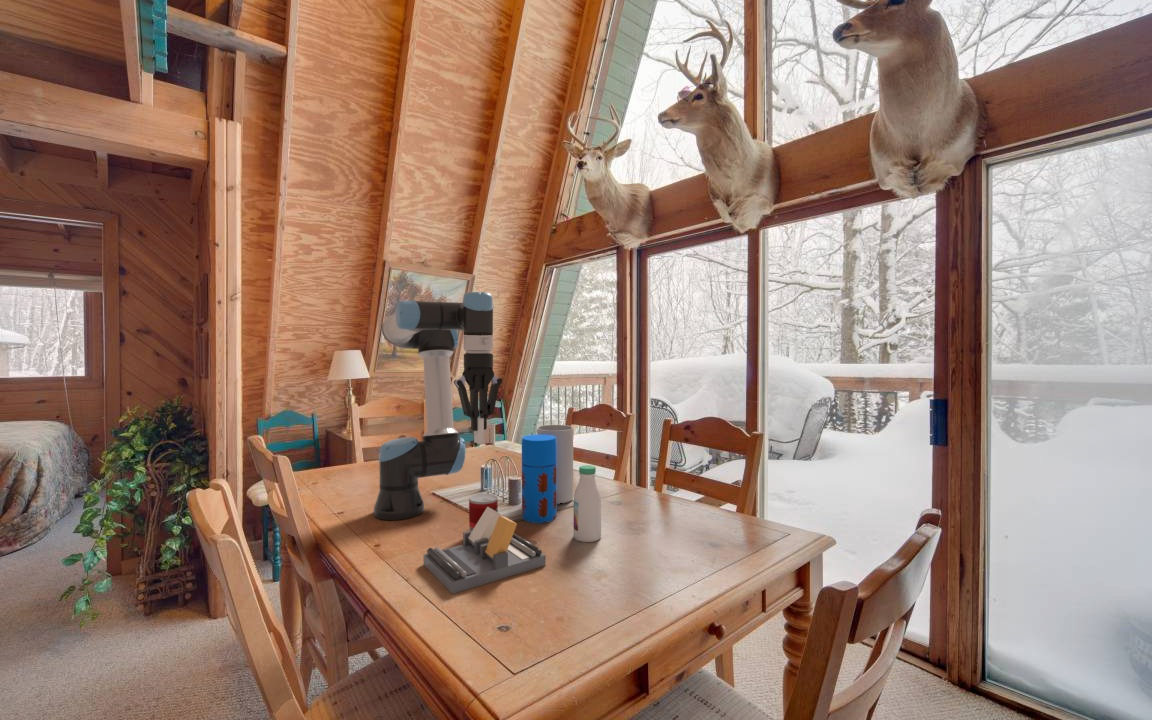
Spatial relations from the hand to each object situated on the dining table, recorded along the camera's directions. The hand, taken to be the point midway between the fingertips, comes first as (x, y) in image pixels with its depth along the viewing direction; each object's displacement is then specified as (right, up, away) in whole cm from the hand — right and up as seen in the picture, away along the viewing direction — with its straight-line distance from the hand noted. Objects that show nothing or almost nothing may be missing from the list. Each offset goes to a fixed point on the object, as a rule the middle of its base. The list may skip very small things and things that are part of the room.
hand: (479, 442), depth 133 cm
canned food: (-1, -28, +10) cm, 30 cm away
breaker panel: (+3, -29, -8) cm, 30 cm away
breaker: (0, -25, -4) cm, 25 cm away
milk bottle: (+29, -28, +9) cm, 41 cm away
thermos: (+14, -28, +26) cm, 40 cm away
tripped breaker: (+6, -25, -12) cm, 28 cm away
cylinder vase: (+18, -27, +44) cm, 55 cm away
